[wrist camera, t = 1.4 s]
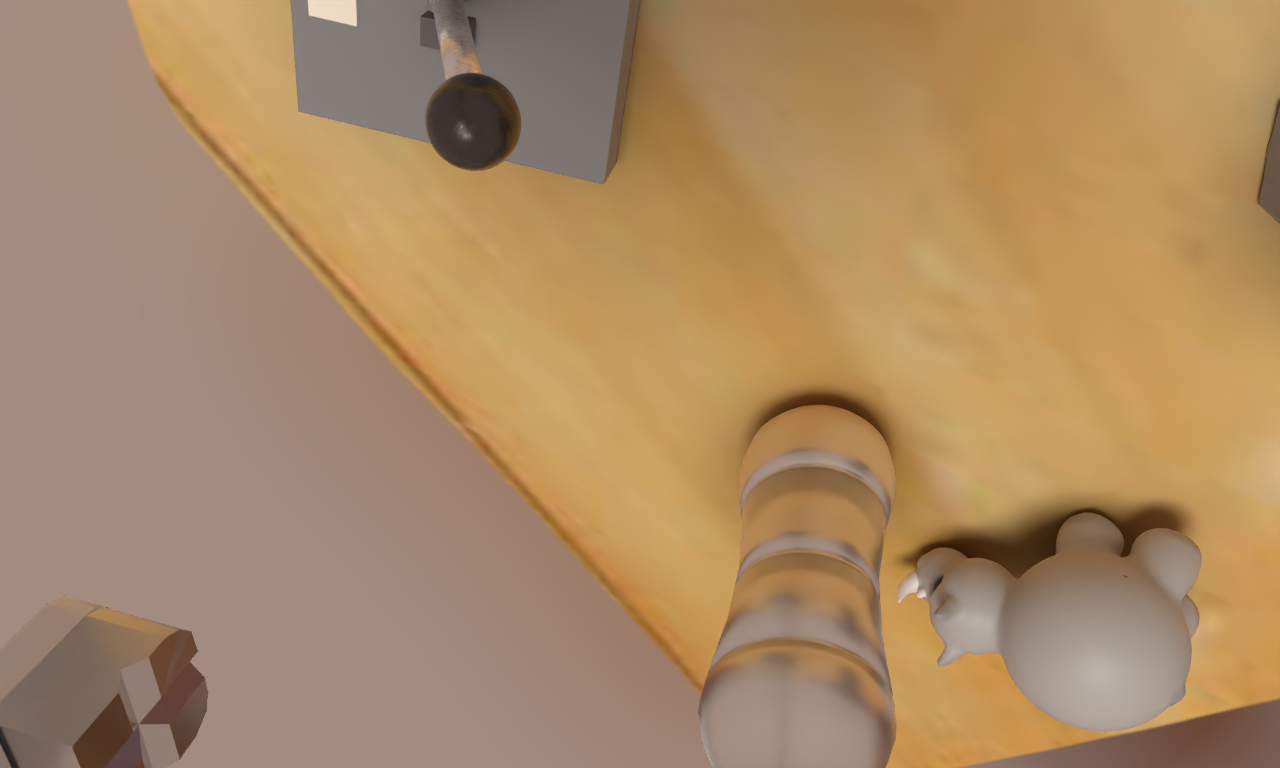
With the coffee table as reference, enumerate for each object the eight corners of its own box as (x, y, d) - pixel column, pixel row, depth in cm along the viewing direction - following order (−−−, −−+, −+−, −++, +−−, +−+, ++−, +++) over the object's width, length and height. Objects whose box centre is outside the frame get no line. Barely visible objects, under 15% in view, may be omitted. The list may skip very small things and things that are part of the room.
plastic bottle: (716, 434, 45) (618, 856, 29) (830, 357, 41) (788, 794, 25) (811, 518, 46) (767, 958, 31) (928, 451, 43) (946, 913, 27)
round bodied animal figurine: (933, 458, 46) (858, 579, 41) (1224, 519, 39) (1179, 674, 34) (941, 567, 50) (873, 691, 45) (1207, 641, 43) (1164, 797, 38)
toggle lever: (406, -58, 32) (429, 94, 23) (481, -51, 32) (531, 99, 23) (406, 17, 33) (427, 186, 24) (478, 22, 34) (523, 189, 25)
